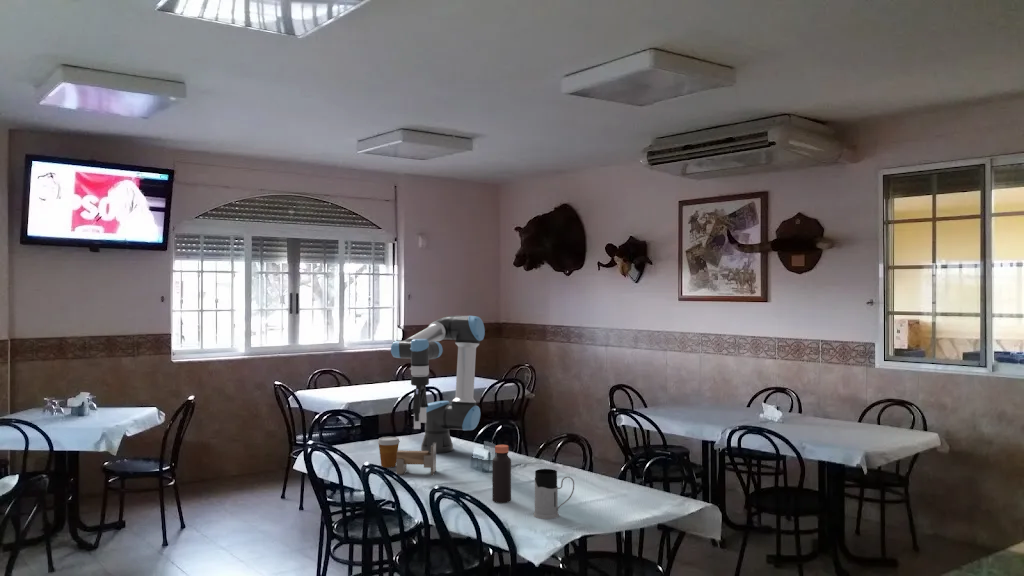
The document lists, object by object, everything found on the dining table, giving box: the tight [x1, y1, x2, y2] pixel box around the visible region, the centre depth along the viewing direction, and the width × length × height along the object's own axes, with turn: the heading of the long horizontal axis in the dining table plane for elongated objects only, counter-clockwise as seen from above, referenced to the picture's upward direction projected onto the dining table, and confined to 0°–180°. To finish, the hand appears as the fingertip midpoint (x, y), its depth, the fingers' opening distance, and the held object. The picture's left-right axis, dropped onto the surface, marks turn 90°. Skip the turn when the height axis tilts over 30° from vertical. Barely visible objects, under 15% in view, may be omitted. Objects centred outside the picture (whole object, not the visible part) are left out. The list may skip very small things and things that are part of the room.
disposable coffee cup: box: [377, 436, 400, 468], centre depth 341 cm, size 10×10×12 cm
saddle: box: [395, 459, 408, 476], centre depth 329 cm, size 7×3×6 cm, turn 177°
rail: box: [397, 449, 429, 466], centre depth 328 cm, size 4×13×5 cm, turn 86°
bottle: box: [491, 444, 512, 504], centre depth 285 cm, size 7×7×20 cm
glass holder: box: [532, 468, 575, 520], centre depth 266 cm, size 9×14×15 cm, turn 73°
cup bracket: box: [423, 443, 437, 476], centre depth 328 cm, size 8×4×12 cm, turn 177°
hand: (420, 425), depth 331 cm, fingers open, 13 cm apart
